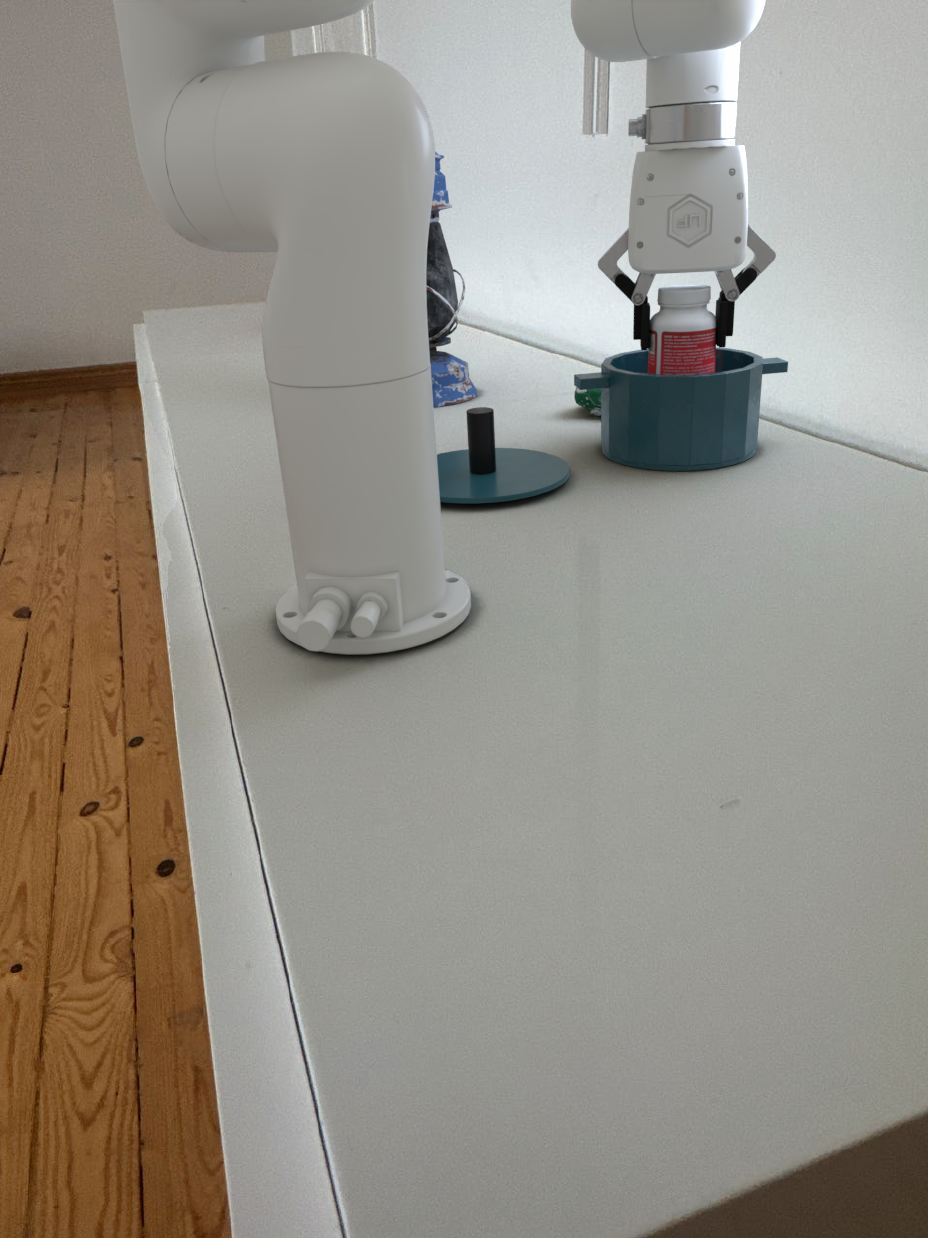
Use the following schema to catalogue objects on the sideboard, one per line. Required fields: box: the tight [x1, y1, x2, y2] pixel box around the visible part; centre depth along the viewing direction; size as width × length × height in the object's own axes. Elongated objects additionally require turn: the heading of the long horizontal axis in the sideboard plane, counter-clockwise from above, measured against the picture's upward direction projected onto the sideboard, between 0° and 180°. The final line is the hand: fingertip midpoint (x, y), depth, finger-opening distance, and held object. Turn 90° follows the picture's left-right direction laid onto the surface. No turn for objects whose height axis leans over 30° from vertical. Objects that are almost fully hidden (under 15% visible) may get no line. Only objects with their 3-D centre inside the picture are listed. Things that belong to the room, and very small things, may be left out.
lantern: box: [426, 150, 478, 408], centre depth 116 cm, size 15×12×30 cm
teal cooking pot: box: [573, 346, 789, 472], centre depth 92 cm, size 15×20×8 cm
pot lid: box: [437, 406, 571, 505], centre depth 86 cm, size 16×16×7 cm
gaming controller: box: [573, 386, 601, 416], centre depth 107 cm, size 9×4×6 cm
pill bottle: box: [648, 284, 717, 375], centre depth 90 cm, size 6×6×11 cm
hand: (682, 344), depth 90 cm, fingers closed on pill bottle, 6 cm apart
